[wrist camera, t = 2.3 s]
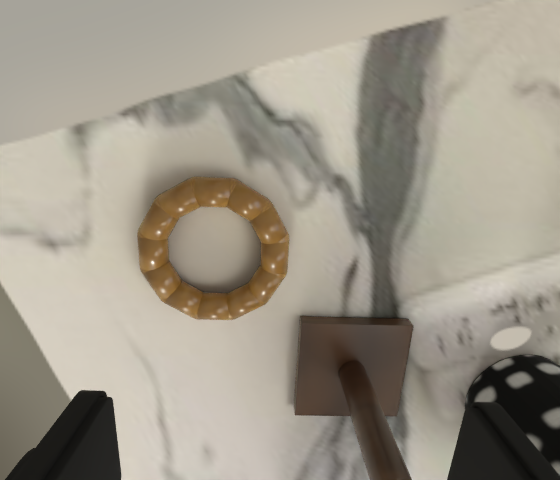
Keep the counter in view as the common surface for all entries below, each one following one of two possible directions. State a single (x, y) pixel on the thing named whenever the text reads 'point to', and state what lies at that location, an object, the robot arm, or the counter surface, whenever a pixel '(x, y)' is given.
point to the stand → (356, 381)
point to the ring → (212, 195)
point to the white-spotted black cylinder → (526, 399)
